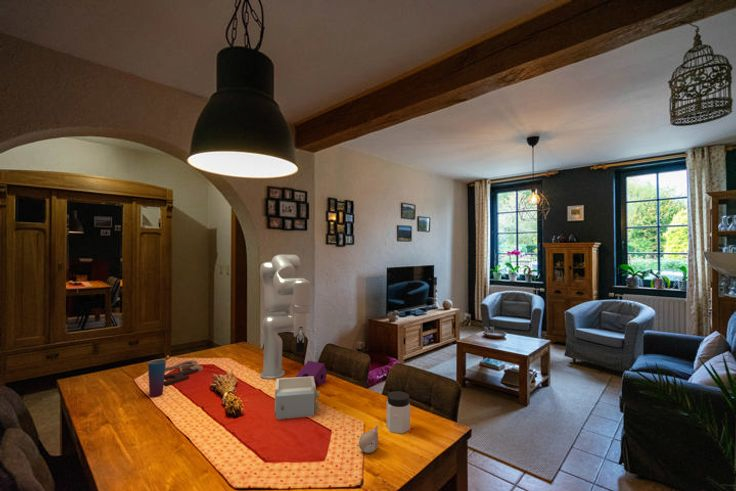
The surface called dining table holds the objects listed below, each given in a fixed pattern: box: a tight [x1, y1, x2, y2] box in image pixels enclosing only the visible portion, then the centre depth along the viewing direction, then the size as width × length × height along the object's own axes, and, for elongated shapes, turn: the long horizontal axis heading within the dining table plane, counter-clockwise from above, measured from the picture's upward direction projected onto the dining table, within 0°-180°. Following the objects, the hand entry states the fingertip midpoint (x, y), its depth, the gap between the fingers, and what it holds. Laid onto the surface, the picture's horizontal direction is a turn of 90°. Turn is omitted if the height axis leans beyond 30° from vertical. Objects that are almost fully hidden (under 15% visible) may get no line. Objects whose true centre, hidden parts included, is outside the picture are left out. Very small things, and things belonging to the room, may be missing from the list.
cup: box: [147, 358, 167, 398], centre depth 152 cm, size 7×7×15 cm
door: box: [275, 390, 315, 420], centre depth 134 cm, size 4×15×9 cm, turn 103°
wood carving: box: [147, 360, 204, 387], centre depth 180 cm, size 28×2×24 cm
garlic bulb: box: [358, 424, 379, 454], centre depth 111 cm, size 7×6×8 cm
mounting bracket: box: [295, 360, 328, 386], centre depth 165 cm, size 10×9×19 cm
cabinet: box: [274, 376, 321, 416], centre depth 142 cm, size 14×18×10 cm
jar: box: [386, 390, 411, 435], centre depth 126 cm, size 9×8×12 cm
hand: (299, 348), depth 146 cm, fingers open, 9 cm apart
